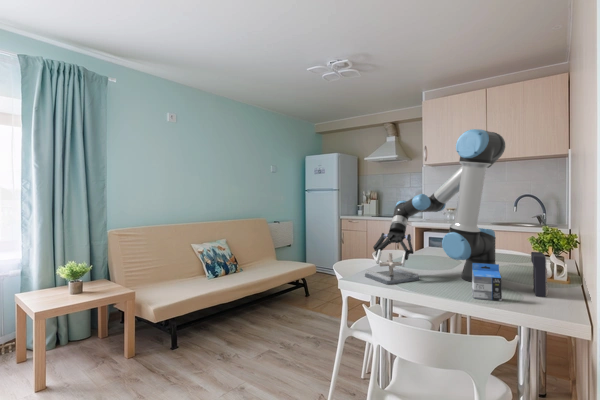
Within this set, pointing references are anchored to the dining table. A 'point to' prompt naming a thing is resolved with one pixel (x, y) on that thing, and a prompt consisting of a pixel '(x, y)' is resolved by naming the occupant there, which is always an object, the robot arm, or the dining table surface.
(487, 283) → the ink cartridge box
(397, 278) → the plate
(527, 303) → the dining table surface
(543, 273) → the calculator
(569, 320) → the dining table surface
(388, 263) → the pipe connector
